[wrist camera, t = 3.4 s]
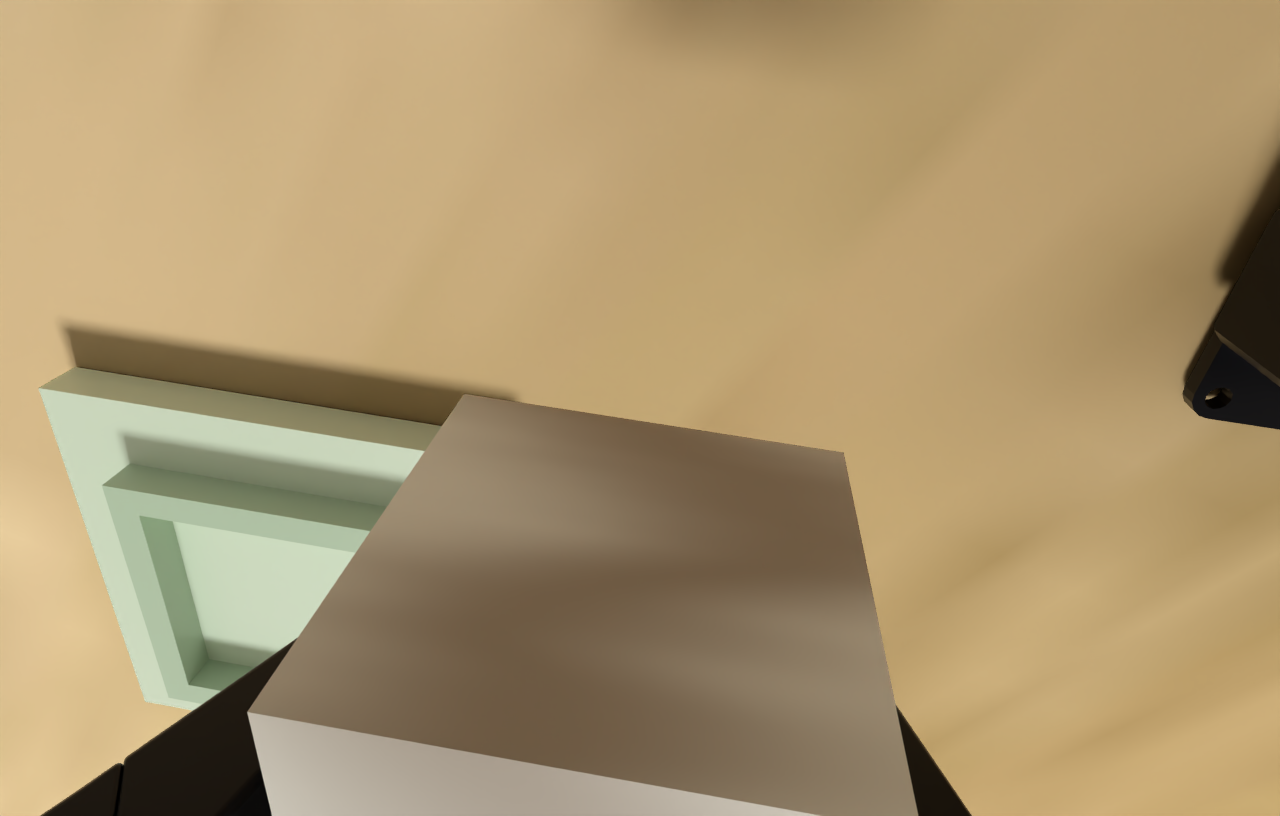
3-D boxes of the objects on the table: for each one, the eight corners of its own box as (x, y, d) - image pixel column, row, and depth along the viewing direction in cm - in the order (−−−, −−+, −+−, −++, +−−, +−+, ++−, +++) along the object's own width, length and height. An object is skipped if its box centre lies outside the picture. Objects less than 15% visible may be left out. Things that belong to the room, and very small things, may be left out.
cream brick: (843, 453, 9) (921, 834, 5) (769, 708, 11) (780, 1108, 7) (463, 393, 9) (246, 712, 5) (467, 656, 11) (319, 1015, 7)
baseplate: (515, 437, 19) (489, 487, 17) (507, 735, 25) (487, 796, 24) (75, 367, 20) (4, 407, 18) (169, 672, 26) (123, 727, 24)
